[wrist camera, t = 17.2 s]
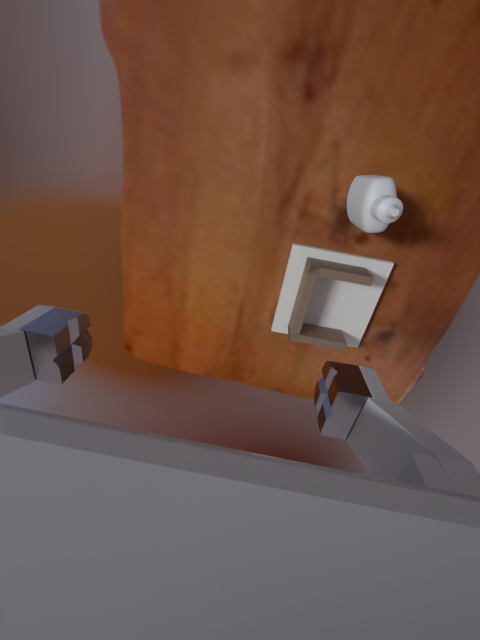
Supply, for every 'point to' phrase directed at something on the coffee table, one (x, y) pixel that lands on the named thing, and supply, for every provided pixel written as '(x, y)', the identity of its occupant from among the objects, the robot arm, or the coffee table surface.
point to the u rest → (329, 296)
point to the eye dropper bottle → (373, 203)
